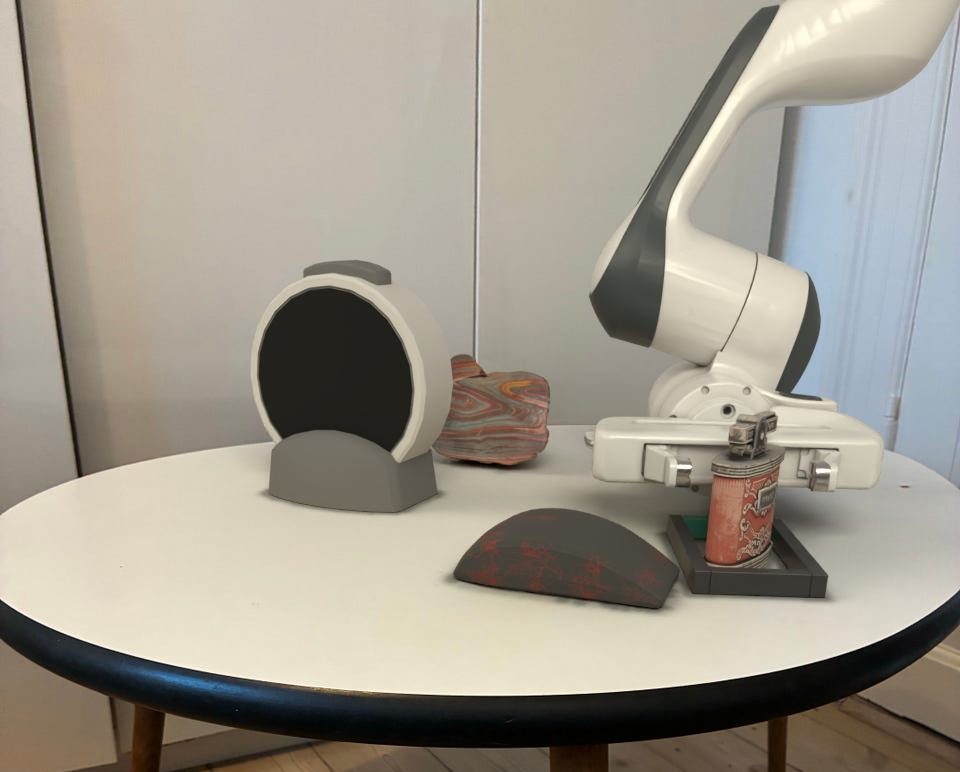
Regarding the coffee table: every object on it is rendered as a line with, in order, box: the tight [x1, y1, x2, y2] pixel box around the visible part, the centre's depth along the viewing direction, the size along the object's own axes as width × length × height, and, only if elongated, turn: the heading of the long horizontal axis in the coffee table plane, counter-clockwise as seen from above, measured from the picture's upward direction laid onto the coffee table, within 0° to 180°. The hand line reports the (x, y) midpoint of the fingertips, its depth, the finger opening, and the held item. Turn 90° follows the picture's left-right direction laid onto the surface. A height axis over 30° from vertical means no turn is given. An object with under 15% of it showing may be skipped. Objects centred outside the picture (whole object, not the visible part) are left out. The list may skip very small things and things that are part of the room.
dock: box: [666, 514, 829, 598], centre depth 69 cm, size 8×13×2 cm, turn 177°
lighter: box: [703, 411, 785, 568], centre depth 68 cm, size 8×3×10 cm, turn 145°
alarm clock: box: [249, 259, 453, 513], centre depth 82 cm, size 16×10×18 cm, turn 65°
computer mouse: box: [453, 507, 681, 609], centre depth 65 cm, size 8×14×4 cm, turn 71°
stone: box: [431, 353, 551, 466], centre depth 96 cm, size 13×8×10 cm
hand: (752, 477), depth 67 cm, fingers open, 8 cm apart
